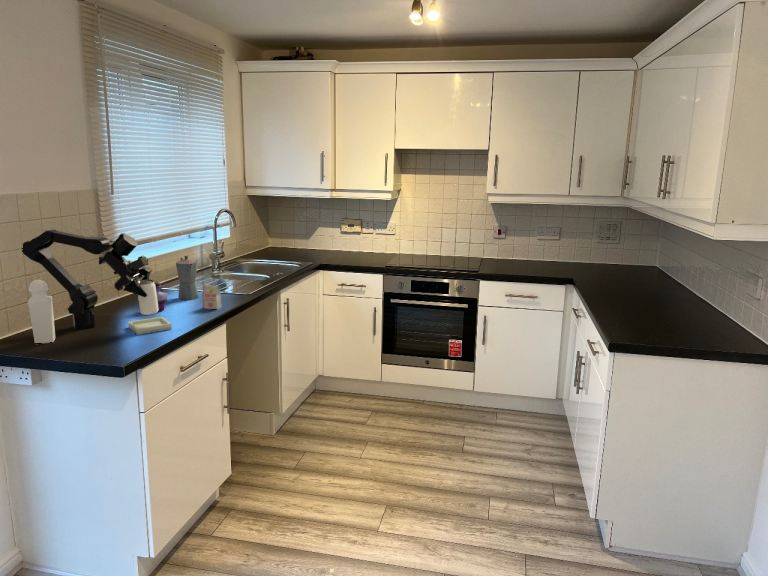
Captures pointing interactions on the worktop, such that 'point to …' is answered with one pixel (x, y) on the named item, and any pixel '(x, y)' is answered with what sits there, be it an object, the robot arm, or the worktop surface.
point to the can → (148, 298)
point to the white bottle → (41, 312)
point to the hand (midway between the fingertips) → (150, 294)
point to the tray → (149, 325)
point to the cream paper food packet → (211, 297)
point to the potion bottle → (160, 297)
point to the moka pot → (187, 279)
